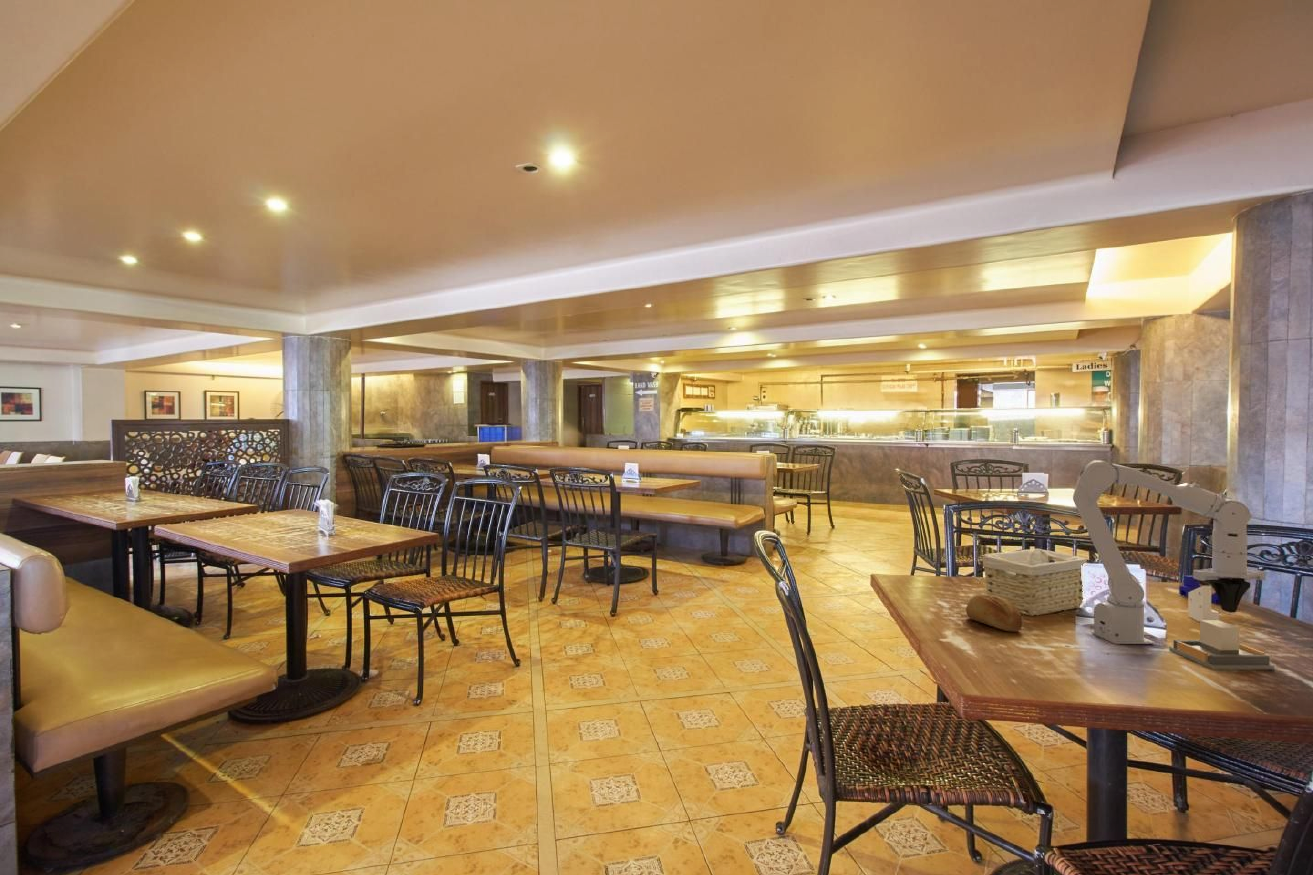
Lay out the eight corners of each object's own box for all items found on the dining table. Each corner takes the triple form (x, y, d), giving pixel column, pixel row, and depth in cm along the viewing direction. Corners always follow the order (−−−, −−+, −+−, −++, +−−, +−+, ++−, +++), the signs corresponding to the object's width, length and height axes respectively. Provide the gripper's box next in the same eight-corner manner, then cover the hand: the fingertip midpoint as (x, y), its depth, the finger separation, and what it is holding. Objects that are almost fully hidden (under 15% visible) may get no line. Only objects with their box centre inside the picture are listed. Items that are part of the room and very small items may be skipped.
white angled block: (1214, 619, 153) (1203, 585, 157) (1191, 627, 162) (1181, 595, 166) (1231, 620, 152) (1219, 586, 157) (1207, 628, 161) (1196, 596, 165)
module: (1220, 654, 131) (1221, 627, 131) (1199, 646, 136) (1200, 620, 136) (1238, 654, 131) (1239, 627, 131) (1217, 646, 136) (1217, 620, 136)
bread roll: (1004, 637, 148) (1004, 605, 147) (955, 619, 162) (955, 590, 162) (1032, 632, 151) (1032, 601, 151) (982, 615, 165) (982, 586, 165)
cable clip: (1179, 594, 185) (1179, 575, 184) (1192, 594, 185) (1193, 575, 185) (1217, 606, 173) (1218, 586, 172) (1232, 606, 173) (1232, 585, 173)
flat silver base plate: (1207, 660, 130) (1207, 655, 130) (1183, 650, 136) (1183, 645, 136) (1257, 660, 130) (1257, 655, 130) (1231, 649, 136) (1231, 645, 136)
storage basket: (1030, 619, 162) (1030, 565, 161) (979, 602, 177) (979, 553, 177) (1090, 609, 170) (1090, 558, 170) (1036, 594, 185) (1037, 547, 185)
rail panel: (1213, 669, 128) (1213, 656, 128) (1169, 650, 139) (1169, 638, 139) (1274, 669, 128) (1274, 656, 128) (1225, 649, 139) (1225, 638, 139)
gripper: (1213, 555, 132) (1212, 616, 132) (1279, 555, 131) (1279, 616, 132) (1185, 549, 139) (1184, 607, 139) (1248, 548, 138) (1248, 607, 139)
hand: (1228, 611), depth 136 cm, fingers closed
